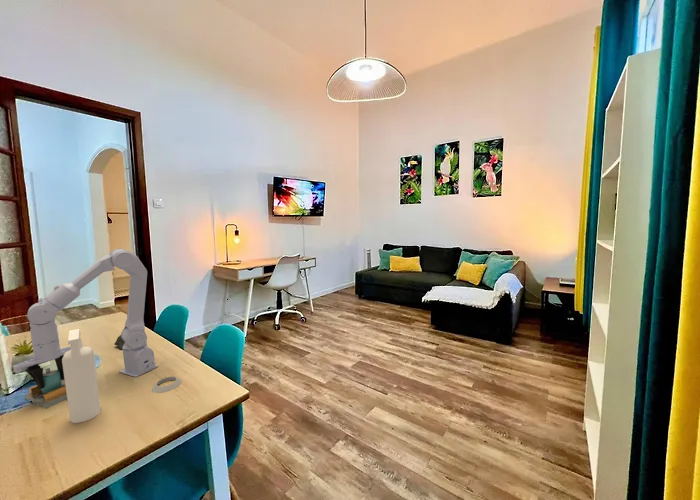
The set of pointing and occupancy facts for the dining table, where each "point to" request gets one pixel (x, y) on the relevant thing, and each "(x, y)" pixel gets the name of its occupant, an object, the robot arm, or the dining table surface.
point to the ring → (169, 387)
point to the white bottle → (80, 380)
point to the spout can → (51, 380)
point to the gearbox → (47, 395)
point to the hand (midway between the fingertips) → (52, 383)
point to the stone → (119, 342)
